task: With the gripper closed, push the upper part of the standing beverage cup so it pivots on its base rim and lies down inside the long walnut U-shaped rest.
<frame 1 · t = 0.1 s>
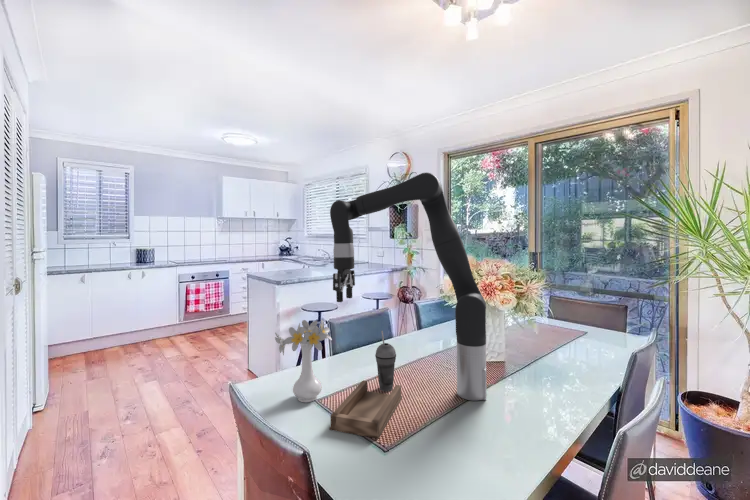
hand: (344, 300, 127), 29 cm above the table, tool pointing down, fingers open, 8 cm apart
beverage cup: (386, 389, 118), on the table
flower vase: (306, 400, 111), on the table
u rest: (369, 412, 102), on the table
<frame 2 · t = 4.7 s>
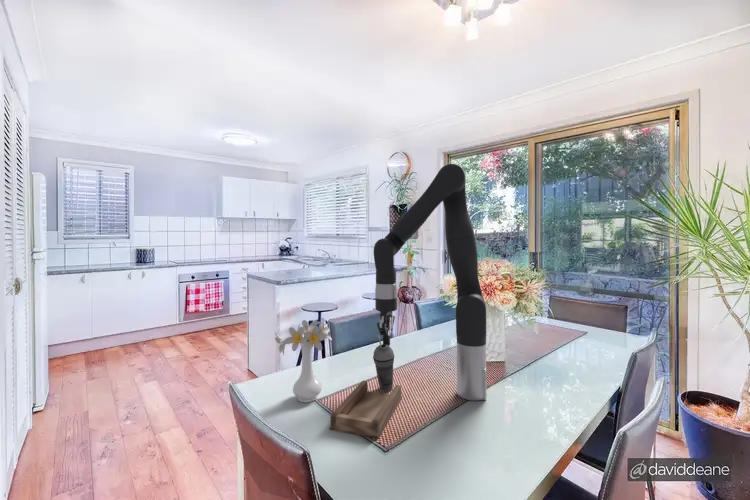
hand: (386, 345, 120), 14 cm above the table, tool pointing down, fingers closed
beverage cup: (386, 388, 118), on the table, touching gripper
everything else where it was.
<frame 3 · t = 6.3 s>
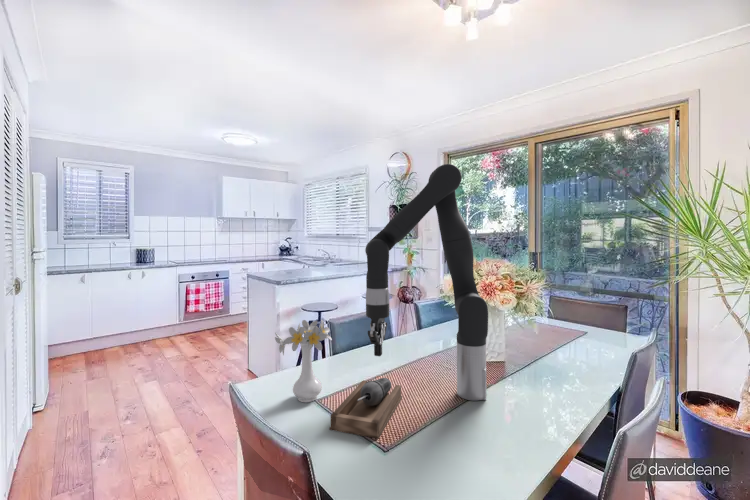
hand: (378, 355, 111), 14 cm above the table, tool pointing down, fingers closed
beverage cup: (385, 384, 116), point 2 cm above the table, touching u rest
everything else where it was.
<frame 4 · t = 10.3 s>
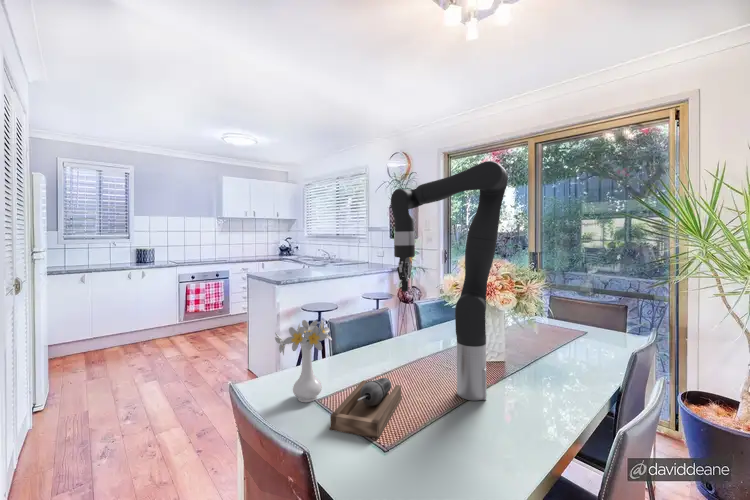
hand: (405, 291, 127), 32 cm above the table, tool pointing down, fingers closed
nothing on the table moved.
at the end: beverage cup tilted 80°; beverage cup touching table, u rest; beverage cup inside the target area (3.6 cm from its centre), point 2.2 cm above the table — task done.
